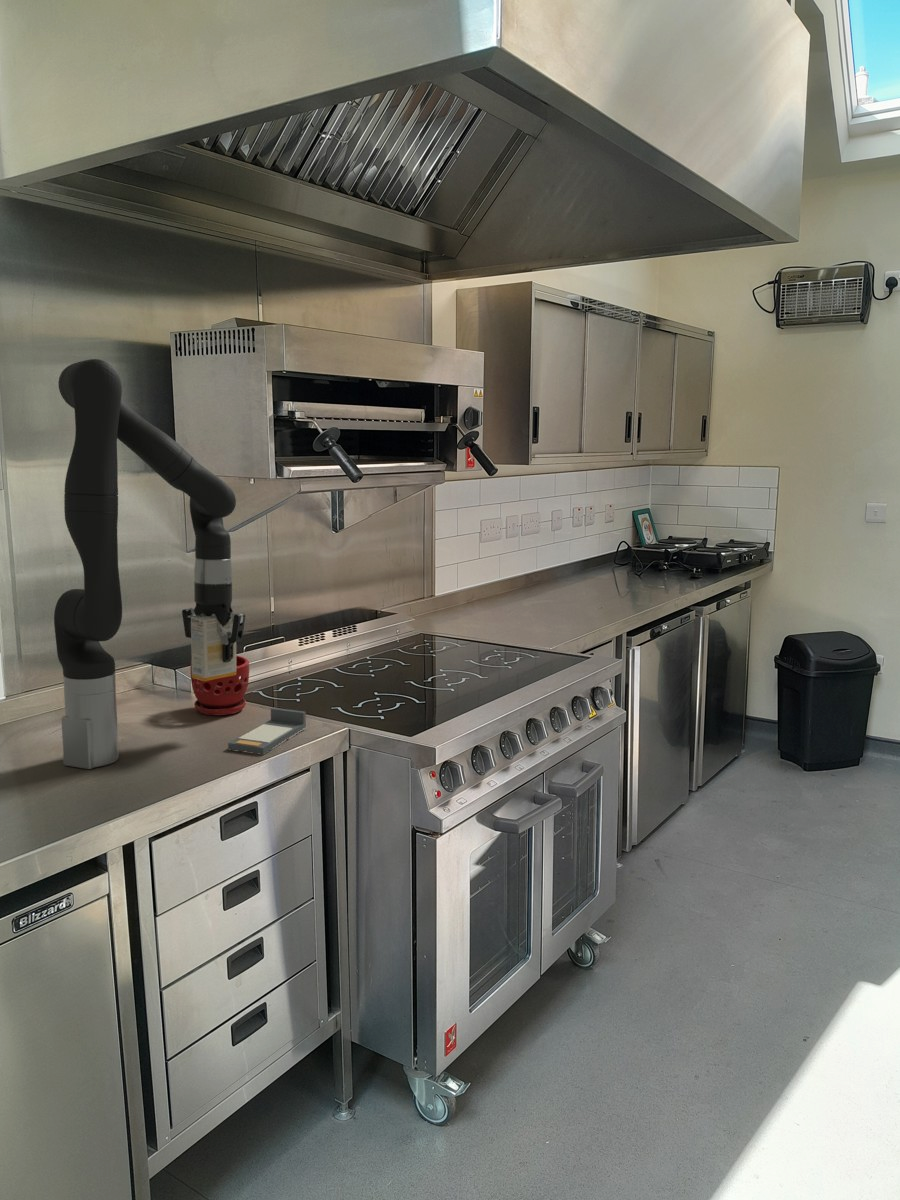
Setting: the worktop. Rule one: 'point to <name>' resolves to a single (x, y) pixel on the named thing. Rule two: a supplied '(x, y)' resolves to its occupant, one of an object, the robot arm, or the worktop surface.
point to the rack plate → (271, 731)
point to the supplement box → (209, 650)
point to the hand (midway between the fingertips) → (213, 659)
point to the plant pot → (222, 691)
